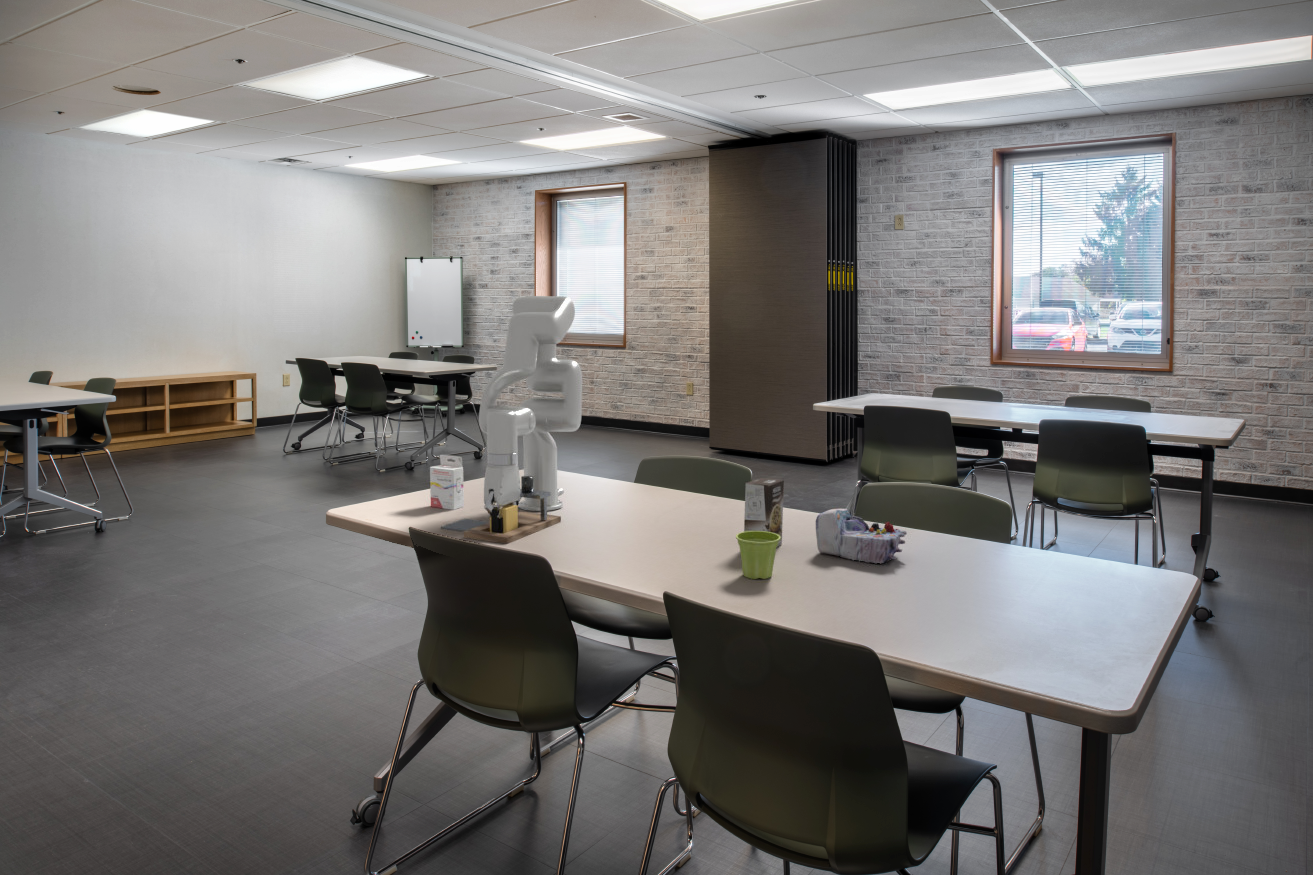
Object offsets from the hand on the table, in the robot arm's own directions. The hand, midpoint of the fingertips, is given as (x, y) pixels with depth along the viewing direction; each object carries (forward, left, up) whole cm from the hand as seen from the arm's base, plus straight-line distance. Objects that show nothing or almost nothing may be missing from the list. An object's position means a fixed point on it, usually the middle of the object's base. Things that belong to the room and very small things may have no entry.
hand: (504, 529), depth 217 cm
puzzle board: (-5, 0, -1) cm, 5 cm away
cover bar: (-11, 0, +1) cm, 11 cm away
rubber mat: (-2, -13, -1) cm, 13 cm away
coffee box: (-17, +63, -1) cm, 65 cm away
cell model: (-19, +85, -1) cm, 88 cm away
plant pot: (+6, +69, -1) cm, 69 cm away
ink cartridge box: (-18, -32, -1) cm, 37 cm away
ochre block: (0, 0, -1) cm, 1 cm away
